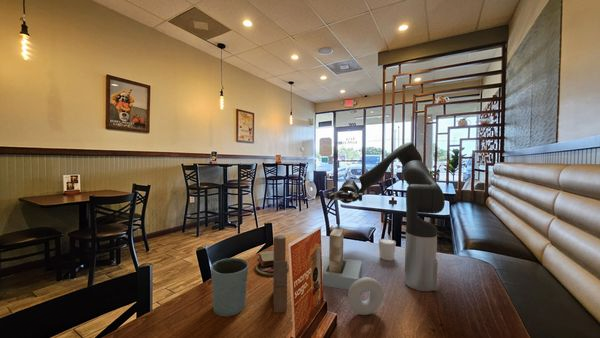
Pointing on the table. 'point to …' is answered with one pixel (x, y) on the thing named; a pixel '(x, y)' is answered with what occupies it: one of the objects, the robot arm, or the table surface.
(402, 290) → the table surface
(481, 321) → the table surface
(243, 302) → the grey-blue cup
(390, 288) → the table surface
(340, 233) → the plank
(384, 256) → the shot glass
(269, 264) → the toy sandwich meal
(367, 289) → the donut
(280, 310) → the wooden block
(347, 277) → the slotted base
